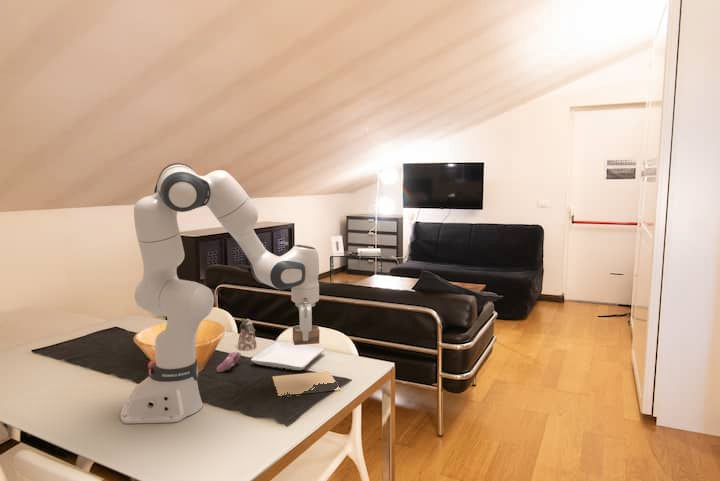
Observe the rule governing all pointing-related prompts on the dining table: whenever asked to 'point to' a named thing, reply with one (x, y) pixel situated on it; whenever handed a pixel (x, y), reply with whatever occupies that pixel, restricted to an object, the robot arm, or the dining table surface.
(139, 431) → the dining table surface
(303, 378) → the cork mat
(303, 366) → the salad plate
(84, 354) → the dining table surface
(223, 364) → the pink oblong lump
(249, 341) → the figurine
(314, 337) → the walnut card box
